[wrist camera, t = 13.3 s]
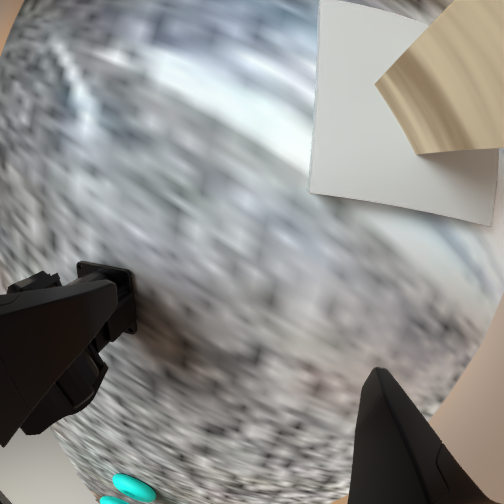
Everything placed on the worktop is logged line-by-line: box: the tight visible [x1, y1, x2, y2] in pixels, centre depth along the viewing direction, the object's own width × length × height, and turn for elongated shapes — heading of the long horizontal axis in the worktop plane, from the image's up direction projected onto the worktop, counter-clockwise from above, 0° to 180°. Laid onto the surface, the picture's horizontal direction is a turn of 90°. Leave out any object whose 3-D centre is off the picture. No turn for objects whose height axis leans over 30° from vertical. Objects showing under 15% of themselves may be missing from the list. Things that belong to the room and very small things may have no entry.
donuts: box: [100, 474, 156, 504], centre depth 34 cm, size 10×10×10 cm
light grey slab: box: [307, 0, 498, 227], centre depth 14 cm, size 14×14×3 cm
